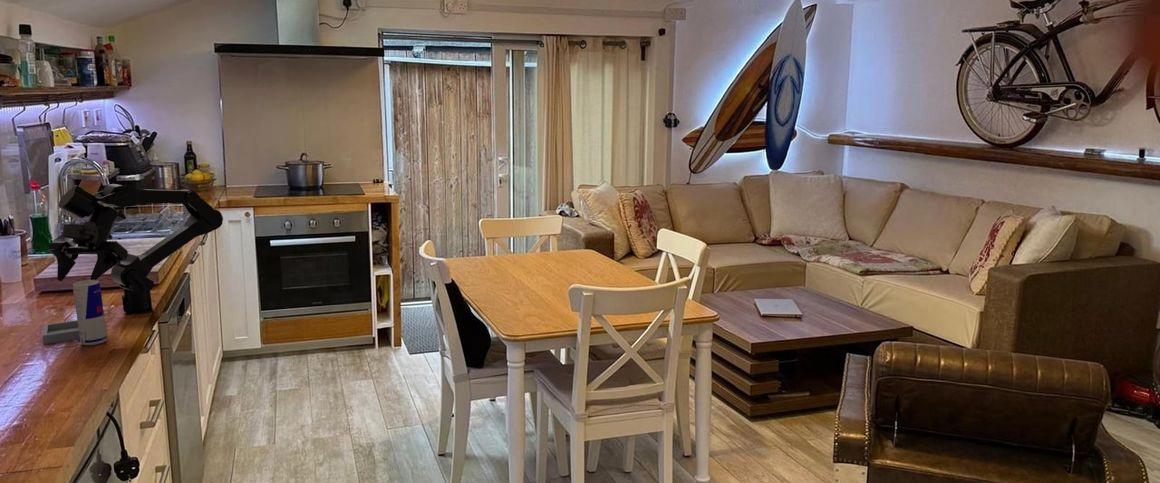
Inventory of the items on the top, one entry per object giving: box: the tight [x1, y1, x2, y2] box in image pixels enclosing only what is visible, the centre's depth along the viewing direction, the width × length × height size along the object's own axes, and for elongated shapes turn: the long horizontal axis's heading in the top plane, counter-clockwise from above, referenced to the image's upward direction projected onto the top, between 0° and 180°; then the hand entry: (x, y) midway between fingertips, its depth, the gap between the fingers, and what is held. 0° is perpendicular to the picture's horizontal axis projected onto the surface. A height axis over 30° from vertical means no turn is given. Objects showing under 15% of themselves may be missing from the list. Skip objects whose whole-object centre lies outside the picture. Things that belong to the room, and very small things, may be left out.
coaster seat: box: [42, 319, 80, 345], centre depth 208 cm, size 11×11×2 cm
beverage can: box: [72, 279, 108, 347], centre depth 200 cm, size 6×6×15 cm
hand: (75, 280), depth 209 cm, fingers open, 9 cm apart
